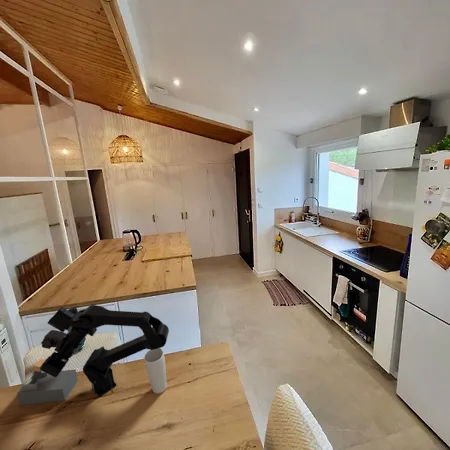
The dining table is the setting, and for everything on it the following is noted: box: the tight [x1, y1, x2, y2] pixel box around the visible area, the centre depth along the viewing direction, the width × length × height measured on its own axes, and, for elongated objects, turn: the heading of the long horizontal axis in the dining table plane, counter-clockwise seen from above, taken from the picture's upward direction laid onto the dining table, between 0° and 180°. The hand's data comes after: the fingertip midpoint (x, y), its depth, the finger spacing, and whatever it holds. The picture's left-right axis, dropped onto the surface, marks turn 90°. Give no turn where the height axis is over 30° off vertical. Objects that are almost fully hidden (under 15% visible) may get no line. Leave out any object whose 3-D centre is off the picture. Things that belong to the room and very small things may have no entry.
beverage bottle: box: [67, 307, 87, 351], centre depth 114 cm, size 6×7×20 cm
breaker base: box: [16, 368, 79, 406], centre depth 92 cm, size 16×9×6 cm, turn 93°
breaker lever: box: [31, 358, 46, 384], centre depth 91 cm, size 2×3×8 cm
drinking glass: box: [143, 348, 168, 394], centre depth 90 cm, size 7×7×15 cm
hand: (53, 367), depth 91 cm, fingers closed
